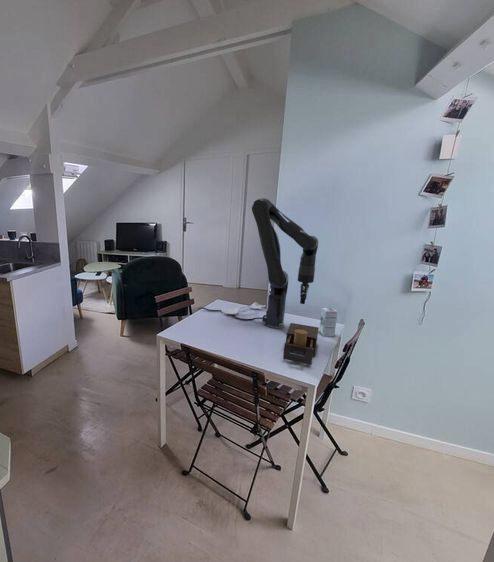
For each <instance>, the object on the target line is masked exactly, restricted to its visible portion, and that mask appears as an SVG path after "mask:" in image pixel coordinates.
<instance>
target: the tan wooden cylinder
mask: <svg viewBox="0 0 494 562" xmlns="http://www.w3.org/2000/svg"><path fill="white" fill-rule="evenodd" d="M306 340H307V331H305V330H302V329H296V330H295V335H294V345H299V346H304V347H306Z"/></svg>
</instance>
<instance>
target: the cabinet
mask: <svg viewBox="0 0 494 562" xmlns="http://www.w3.org/2000/svg"><path fill="white" fill-rule="evenodd" d="M296 329H302V330H305V331H307V338H309V339H314V340H313V348H314V349H313V357H315V355H316V350H317V344H318V336H319V329H320V326H319V327H318V326H313V325H312V326H311V325H306V324H300V323H294V322H290V324H289V326H288V329H287V330H286V331H287V332H286V337H285V343H287V341H288V339H289V336H290V335H293V336H294V335H295V330H296Z"/></svg>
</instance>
